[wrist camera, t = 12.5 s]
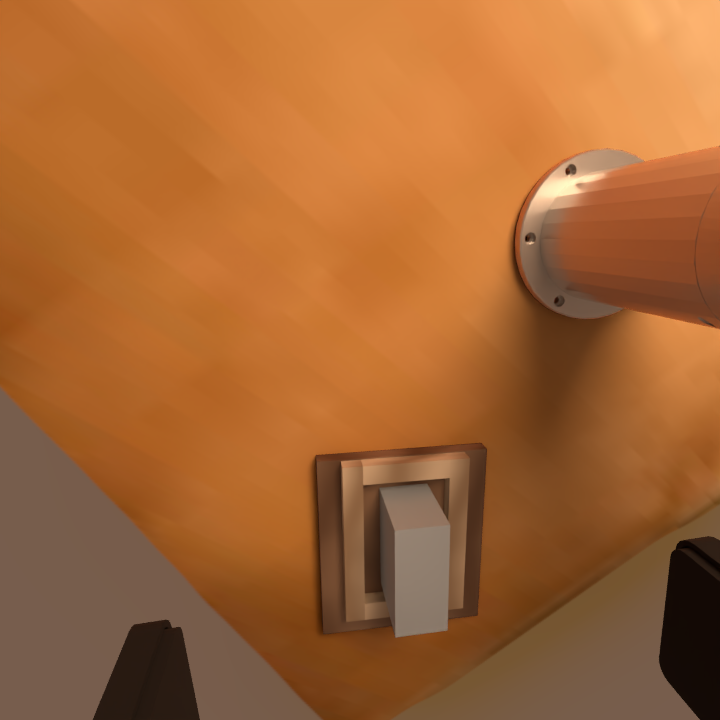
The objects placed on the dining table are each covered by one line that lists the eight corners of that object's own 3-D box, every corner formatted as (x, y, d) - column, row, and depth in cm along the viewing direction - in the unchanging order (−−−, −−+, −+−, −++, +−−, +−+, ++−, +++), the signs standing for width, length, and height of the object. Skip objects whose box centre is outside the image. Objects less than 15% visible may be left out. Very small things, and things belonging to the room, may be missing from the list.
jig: (481, 443, 41) (492, 455, 39) (472, 605, 45) (482, 625, 43) (315, 455, 39) (317, 468, 37) (322, 623, 43) (324, 645, 41)
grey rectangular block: (427, 483, 40) (450, 524, 34) (426, 579, 42) (447, 633, 37) (379, 487, 40) (394, 530, 34) (380, 585, 42) (395, 640, 36)
